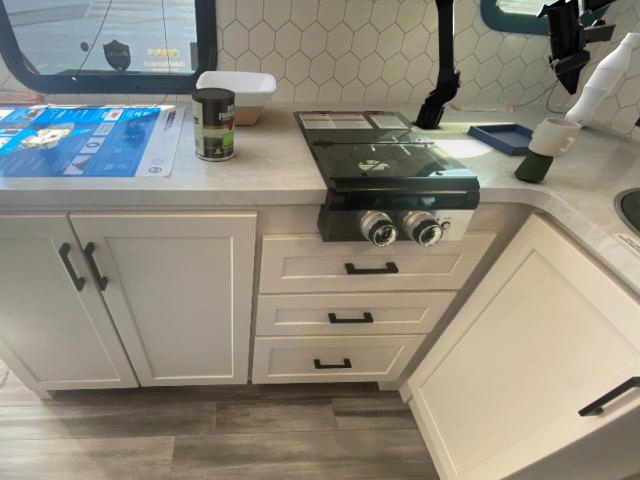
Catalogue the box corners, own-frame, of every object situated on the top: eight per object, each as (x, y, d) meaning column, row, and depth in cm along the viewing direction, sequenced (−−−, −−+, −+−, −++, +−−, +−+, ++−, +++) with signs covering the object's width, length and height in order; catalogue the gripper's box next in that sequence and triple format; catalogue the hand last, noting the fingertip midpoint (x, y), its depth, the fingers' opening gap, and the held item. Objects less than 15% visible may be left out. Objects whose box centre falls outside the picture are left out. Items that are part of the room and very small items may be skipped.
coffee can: (241, 151, 92) (243, 91, 82) (219, 165, 85) (219, 101, 75) (210, 143, 95) (208, 84, 85) (186, 155, 89) (182, 93, 79)
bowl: (271, 108, 120) (274, 73, 112) (274, 133, 102) (278, 93, 95) (203, 105, 120) (202, 69, 112) (195, 130, 102) (192, 89, 95)
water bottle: (564, 126, 116) (624, 33, 99) (558, 120, 121) (615, 30, 103) (588, 129, 114) (655, 36, 97) (582, 123, 119) (644, 33, 102)
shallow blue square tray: (509, 155, 96) (514, 147, 94) (466, 133, 108) (470, 125, 106) (560, 152, 99) (565, 143, 97) (513, 130, 111) (517, 123, 109)
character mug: (556, 188, 82) (598, 131, 73) (529, 189, 81) (568, 131, 72) (524, 168, 90) (558, 114, 80) (499, 169, 89) (531, 114, 80)
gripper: (620, 6, 74) (623, 80, 80) (603, 2, 86) (607, 67, 92) (551, 38, 82) (559, 104, 88) (544, 30, 94) (551, 89, 100)
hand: (570, 90), depth 92 cm, fingers open, 9 cm apart
